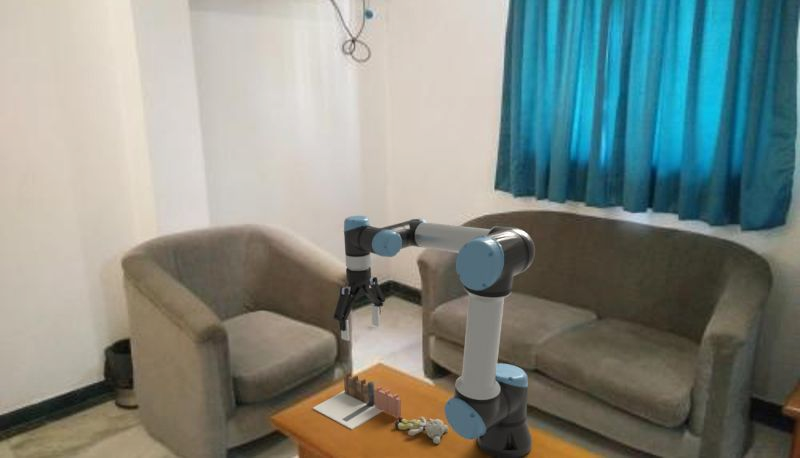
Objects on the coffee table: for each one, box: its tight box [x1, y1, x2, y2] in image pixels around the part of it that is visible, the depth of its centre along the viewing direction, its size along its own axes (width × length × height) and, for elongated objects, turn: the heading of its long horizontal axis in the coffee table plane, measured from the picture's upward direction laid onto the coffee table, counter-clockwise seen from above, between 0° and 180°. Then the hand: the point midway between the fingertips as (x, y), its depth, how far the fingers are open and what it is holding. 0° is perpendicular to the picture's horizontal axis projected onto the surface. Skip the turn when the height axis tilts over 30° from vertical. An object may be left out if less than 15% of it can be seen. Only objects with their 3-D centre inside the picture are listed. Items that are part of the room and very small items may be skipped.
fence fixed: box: [343, 372, 375, 406], centre depth 191 cm, size 13×2×8 cm, turn 48°
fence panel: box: [374, 385, 402, 418], centre depth 183 cm, size 10×1×7 cm, turn 48°
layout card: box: [312, 390, 385, 430], centre depth 188 cm, size 18×18×1 cm
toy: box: [394, 416, 449, 445], centre depth 174 cm, size 9×6×15 cm
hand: (361, 332), depth 183 cm, fingers open, 13 cm apart
